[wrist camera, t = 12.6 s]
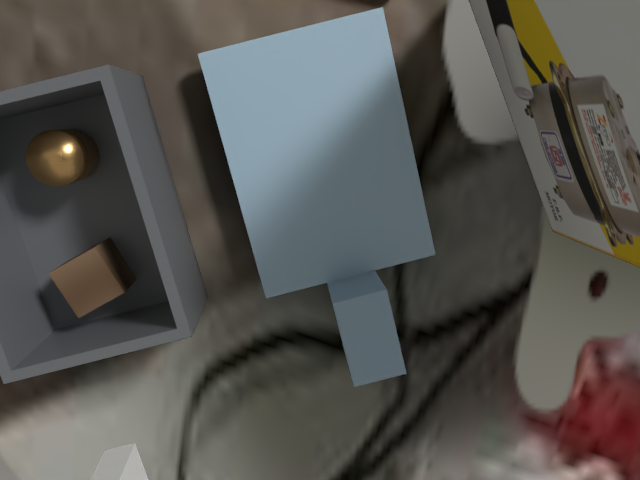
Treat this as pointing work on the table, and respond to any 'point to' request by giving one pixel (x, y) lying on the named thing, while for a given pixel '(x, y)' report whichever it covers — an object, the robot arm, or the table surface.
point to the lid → (325, 171)
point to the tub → (90, 227)
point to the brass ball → (62, 156)
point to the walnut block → (93, 277)
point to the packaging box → (574, 110)
